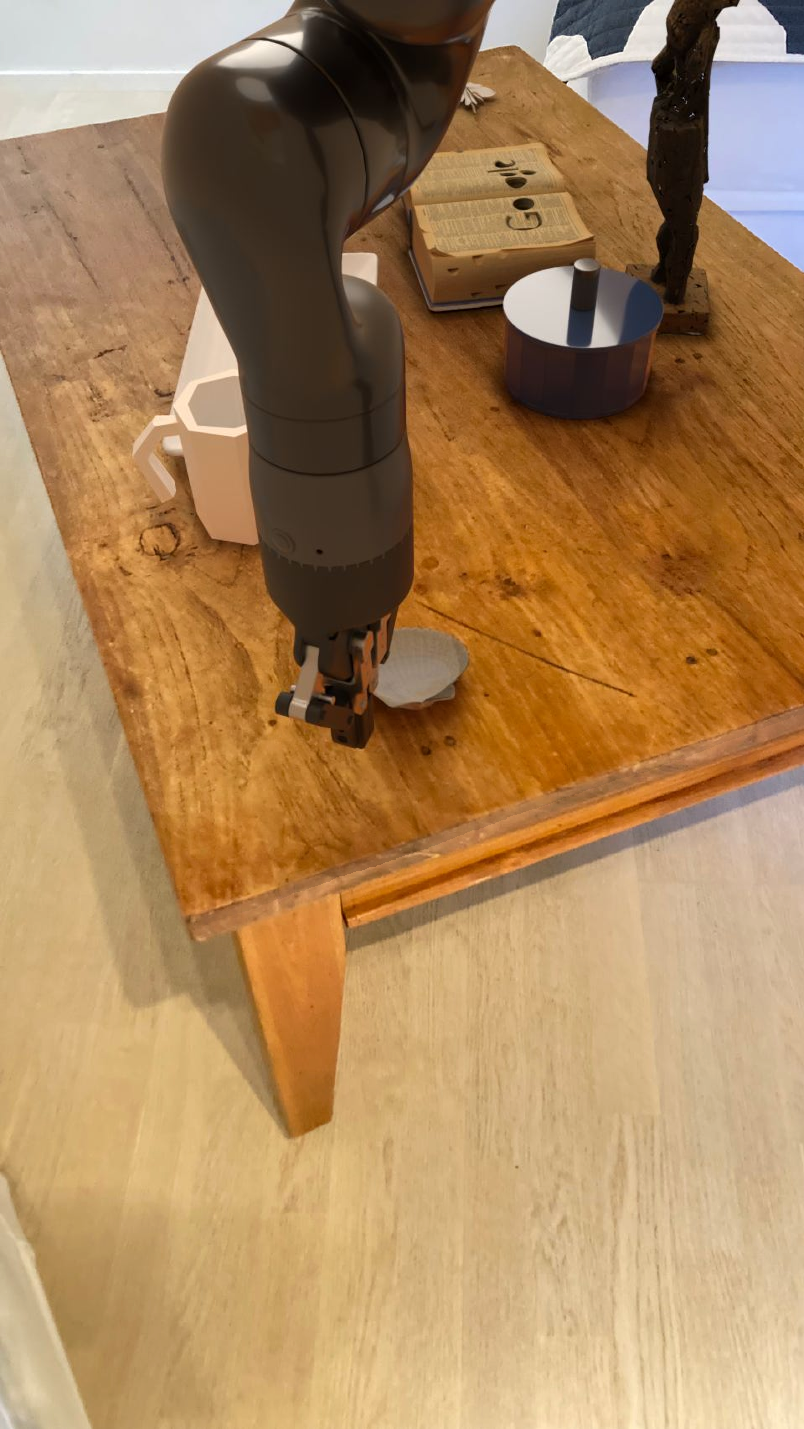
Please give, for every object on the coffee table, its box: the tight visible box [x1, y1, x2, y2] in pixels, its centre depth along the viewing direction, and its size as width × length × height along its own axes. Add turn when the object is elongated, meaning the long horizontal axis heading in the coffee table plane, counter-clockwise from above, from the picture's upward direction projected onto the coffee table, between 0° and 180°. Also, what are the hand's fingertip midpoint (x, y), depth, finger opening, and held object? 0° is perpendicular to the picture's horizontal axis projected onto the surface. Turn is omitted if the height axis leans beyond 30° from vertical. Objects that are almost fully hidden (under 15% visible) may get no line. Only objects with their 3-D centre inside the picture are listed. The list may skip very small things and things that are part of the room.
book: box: [400, 141, 597, 312], centre depth 108 cm, size 25×17×6 cm
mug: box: [131, 369, 259, 546], centre depth 80 cm, size 12×9×10 cm
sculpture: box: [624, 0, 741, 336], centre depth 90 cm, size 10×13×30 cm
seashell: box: [372, 626, 470, 711], centre depth 70 cm, size 8×3×8 cm
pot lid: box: [502, 258, 664, 353], centre depth 88 cm, size 13×13×5 cm
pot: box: [502, 321, 657, 421], centre depth 92 cm, size 13×13×6 cm
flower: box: [460, 80, 497, 114], centre depth 134 cm, size 8×8×3 cm
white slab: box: [161, 252, 379, 458], centre depth 94 cm, size 17×32×4 cm, turn 0°
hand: (353, 736), depth 63 cm, fingers closed
